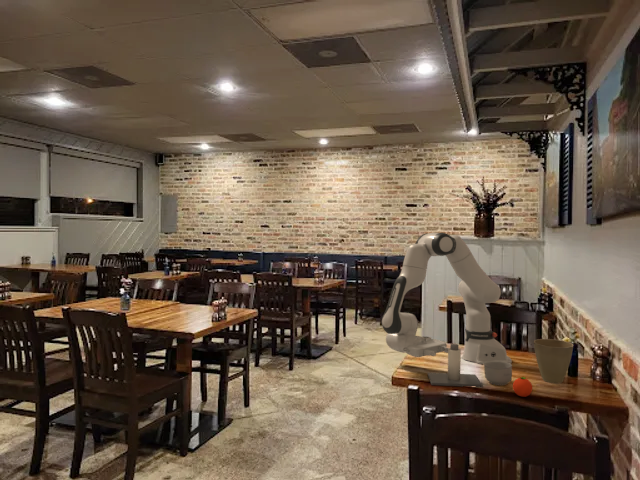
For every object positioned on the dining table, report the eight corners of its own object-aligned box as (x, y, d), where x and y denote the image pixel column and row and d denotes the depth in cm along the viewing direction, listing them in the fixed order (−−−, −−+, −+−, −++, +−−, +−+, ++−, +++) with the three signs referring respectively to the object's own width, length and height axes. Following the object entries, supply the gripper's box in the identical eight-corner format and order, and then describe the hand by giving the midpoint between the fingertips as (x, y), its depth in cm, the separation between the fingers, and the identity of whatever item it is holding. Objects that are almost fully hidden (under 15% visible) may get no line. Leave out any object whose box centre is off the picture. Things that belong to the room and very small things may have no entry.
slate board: (475, 376, 208) (475, 374, 208) (482, 387, 195) (482, 384, 194) (427, 374, 211) (427, 372, 211) (431, 385, 197) (431, 382, 197)
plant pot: (526, 375, 211) (527, 338, 211) (559, 375, 212) (560, 338, 212) (544, 386, 196) (545, 347, 196) (580, 386, 197) (581, 347, 197)
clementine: (515, 391, 190) (515, 373, 190) (534, 394, 186) (535, 376, 186) (510, 396, 184) (510, 378, 184) (530, 400, 180) (530, 381, 180)
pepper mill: (459, 376, 205) (459, 343, 204) (461, 380, 200) (461, 346, 199) (446, 376, 205) (447, 343, 205) (448, 379, 200) (449, 345, 200)
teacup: (508, 389, 193) (509, 369, 193) (480, 384, 199) (481, 364, 198) (515, 380, 205) (515, 361, 204) (488, 375, 210) (489, 357, 210)
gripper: (400, 342, 211) (426, 348, 201) (431, 336, 224) (456, 341, 213) (400, 356, 211) (426, 363, 201) (430, 349, 224) (456, 356, 214)
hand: (442, 352), depth 207 cm, fingers open, 8 cm apart
